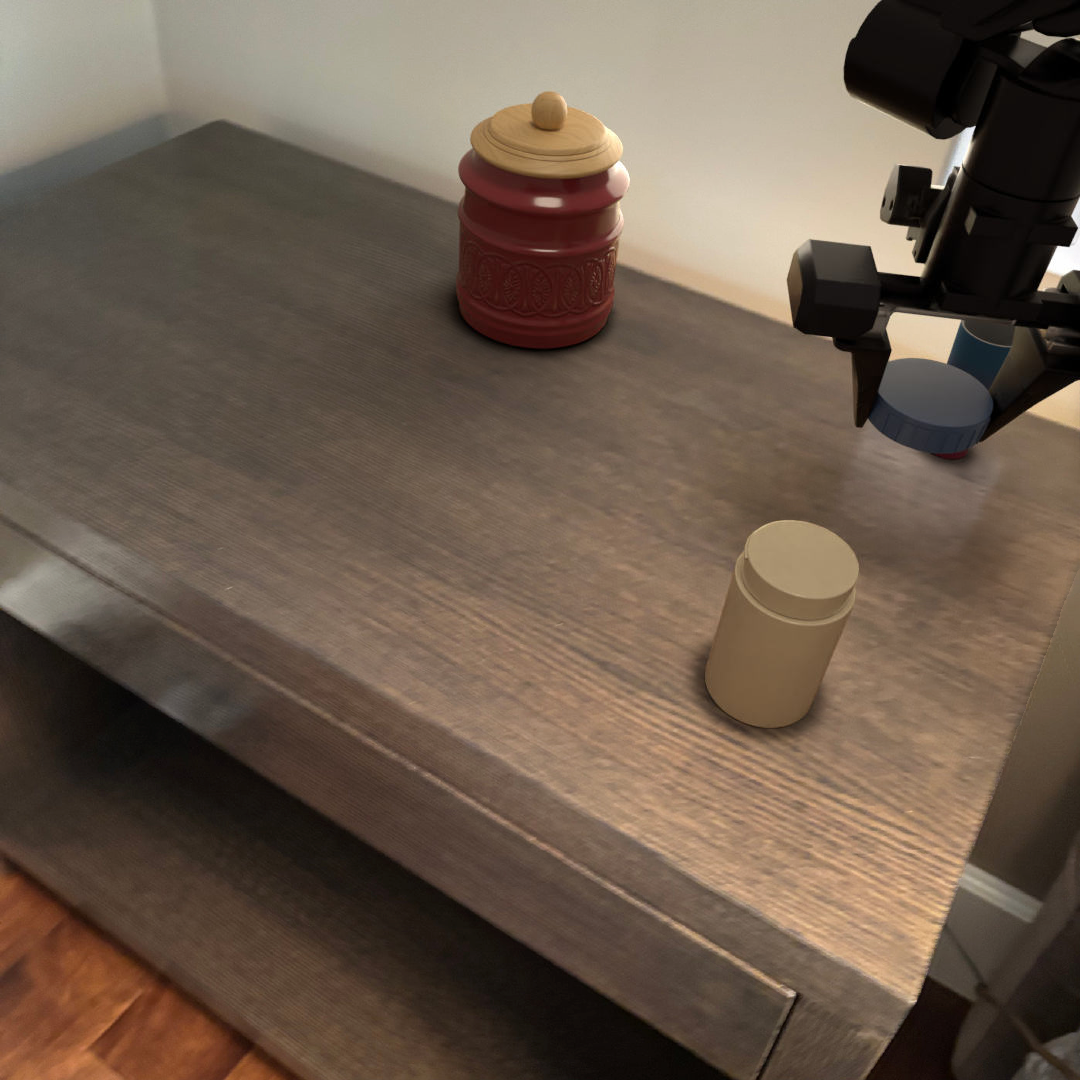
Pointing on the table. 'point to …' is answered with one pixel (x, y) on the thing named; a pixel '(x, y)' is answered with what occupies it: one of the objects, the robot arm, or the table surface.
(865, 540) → the table surface
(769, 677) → the jar
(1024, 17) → the robot arm
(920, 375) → the lid
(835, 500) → the table surface
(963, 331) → the cup
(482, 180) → the kitchen canister
